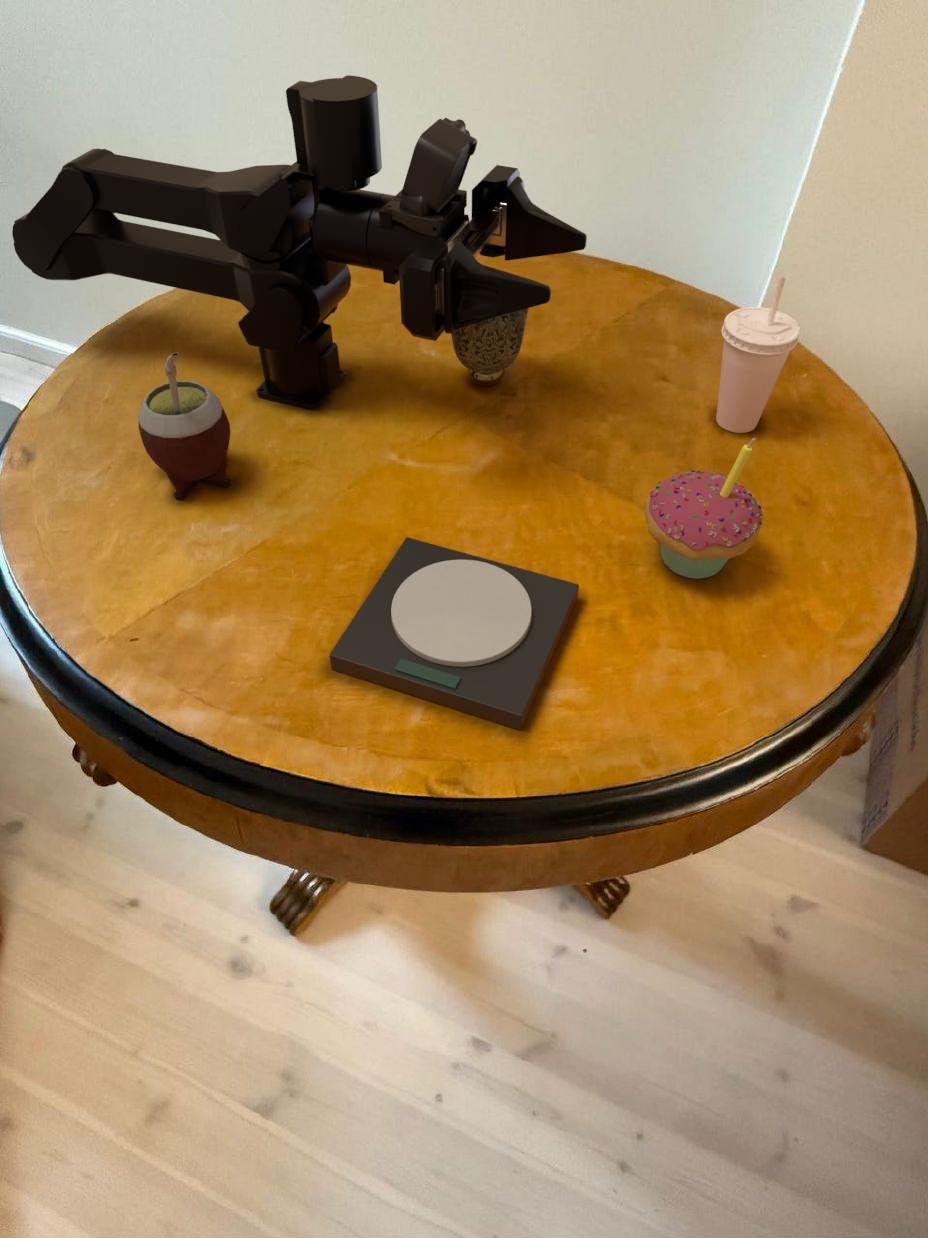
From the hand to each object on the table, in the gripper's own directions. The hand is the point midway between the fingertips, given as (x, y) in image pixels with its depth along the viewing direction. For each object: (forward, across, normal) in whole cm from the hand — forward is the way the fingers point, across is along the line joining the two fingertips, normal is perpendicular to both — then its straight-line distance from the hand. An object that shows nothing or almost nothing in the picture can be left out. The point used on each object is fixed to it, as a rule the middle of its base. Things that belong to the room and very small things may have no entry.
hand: (568, 267), depth 68 cm
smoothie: (+15, +10, +17) cm, 24 cm away
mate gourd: (-26, -16, +17) cm, 35 cm away
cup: (-9, +8, +17) cm, 21 cm away
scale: (+1, -24, +16) cm, 29 cm away
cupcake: (+15, -10, +17) cm, 24 cm away
